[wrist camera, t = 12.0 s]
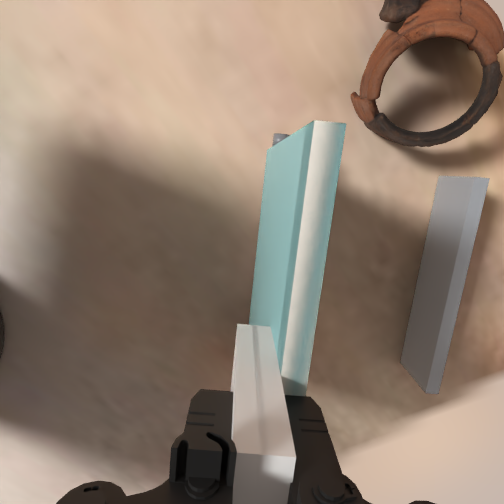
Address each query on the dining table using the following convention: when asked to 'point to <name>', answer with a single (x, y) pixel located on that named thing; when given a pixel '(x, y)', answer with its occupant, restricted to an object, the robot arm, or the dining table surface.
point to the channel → (440, 276)
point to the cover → (295, 243)
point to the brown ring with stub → (421, 28)
